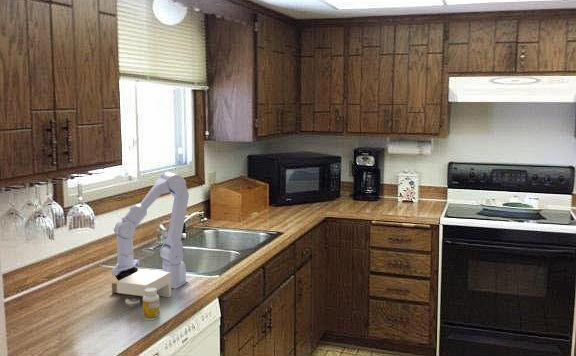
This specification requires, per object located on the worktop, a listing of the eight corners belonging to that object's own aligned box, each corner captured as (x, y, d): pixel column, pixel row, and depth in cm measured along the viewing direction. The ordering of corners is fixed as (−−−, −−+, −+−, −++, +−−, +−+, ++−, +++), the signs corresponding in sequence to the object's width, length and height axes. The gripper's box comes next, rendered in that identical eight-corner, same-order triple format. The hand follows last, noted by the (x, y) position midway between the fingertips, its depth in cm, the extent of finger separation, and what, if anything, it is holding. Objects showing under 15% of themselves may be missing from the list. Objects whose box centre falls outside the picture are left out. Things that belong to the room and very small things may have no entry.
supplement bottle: (142, 316, 194) (140, 288, 193) (158, 313, 197) (157, 286, 195) (144, 321, 190) (143, 293, 188) (161, 319, 192) (160, 290, 190)
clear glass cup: (130, 301, 209) (130, 296, 209) (142, 302, 207) (142, 297, 207) (122, 305, 204) (122, 300, 204) (134, 307, 203) (134, 302, 203)
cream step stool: (142, 292, 218) (141, 268, 217) (171, 295, 214) (170, 272, 213) (116, 306, 203) (115, 281, 202) (147, 310, 199) (146, 285, 198)
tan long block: (116, 290, 220) (116, 280, 219) (153, 294, 214) (153, 285, 214) (112, 292, 217) (111, 283, 216) (148, 297, 212) (148, 287, 211)
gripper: (127, 247, 222) (129, 281, 224) (103, 257, 209) (105, 293, 211) (143, 249, 220) (144, 283, 222) (120, 259, 207) (122, 295, 208)
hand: (126, 288), depth 216 cm, fingers closed on tan long block, 3 cm apart
